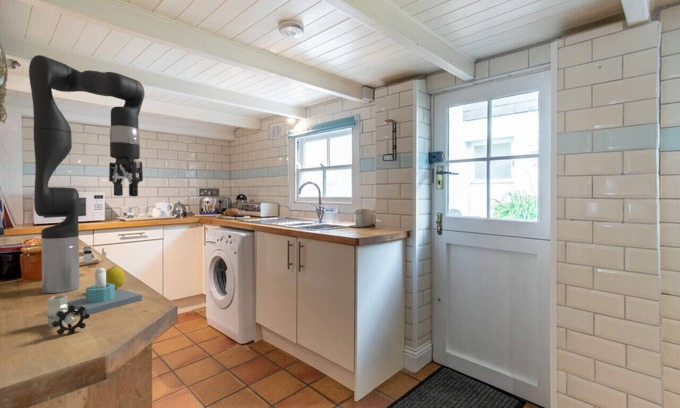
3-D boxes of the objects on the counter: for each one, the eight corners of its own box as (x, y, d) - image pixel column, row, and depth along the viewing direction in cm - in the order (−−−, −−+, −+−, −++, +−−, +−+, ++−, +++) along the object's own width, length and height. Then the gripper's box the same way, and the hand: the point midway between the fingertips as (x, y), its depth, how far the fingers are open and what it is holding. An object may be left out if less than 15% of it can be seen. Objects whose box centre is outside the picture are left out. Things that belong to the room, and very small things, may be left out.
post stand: (65, 307, 90) (64, 269, 89) (119, 293, 102) (119, 260, 102) (87, 315, 84) (86, 274, 84) (142, 299, 96) (141, 264, 96)
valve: (37, 326, 77) (53, 340, 70) (36, 299, 76) (52, 309, 70) (72, 318, 82) (90, 329, 75) (71, 292, 82) (89, 301, 75)
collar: (82, 300, 91) (81, 287, 91) (107, 294, 97) (107, 282, 96) (93, 304, 88) (93, 291, 88) (119, 297, 93) (119, 285, 93)
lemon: (114, 293, 102) (114, 268, 102) (99, 292, 103) (99, 267, 103) (129, 288, 107) (128, 264, 107) (115, 287, 109) (114, 263, 108)
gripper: (99, 142, 99) (100, 195, 99) (124, 139, 92) (125, 196, 92) (125, 145, 105) (126, 195, 106) (151, 142, 98) (151, 196, 99)
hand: (125, 196), depth 99 cm, fingers open, 8 cm apart
